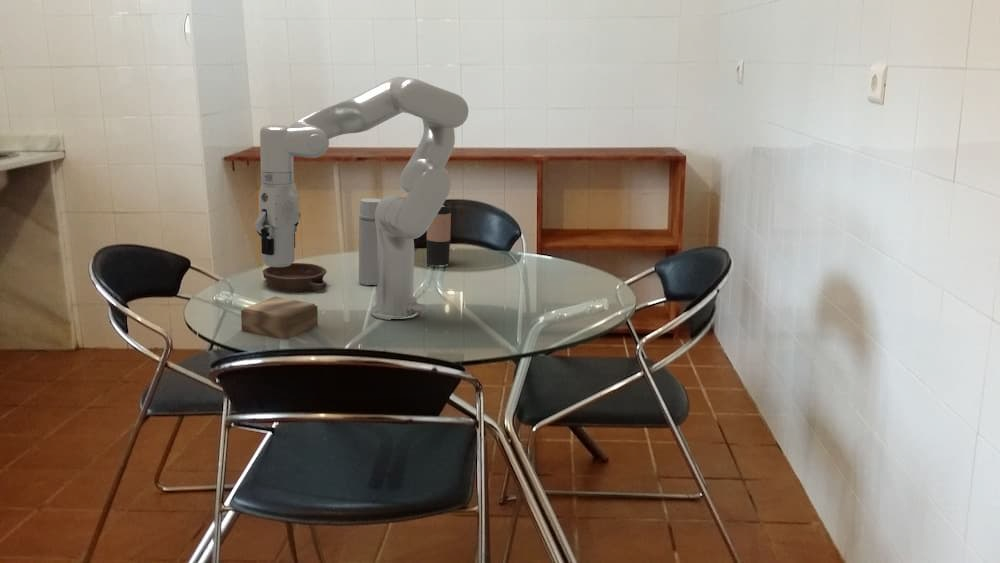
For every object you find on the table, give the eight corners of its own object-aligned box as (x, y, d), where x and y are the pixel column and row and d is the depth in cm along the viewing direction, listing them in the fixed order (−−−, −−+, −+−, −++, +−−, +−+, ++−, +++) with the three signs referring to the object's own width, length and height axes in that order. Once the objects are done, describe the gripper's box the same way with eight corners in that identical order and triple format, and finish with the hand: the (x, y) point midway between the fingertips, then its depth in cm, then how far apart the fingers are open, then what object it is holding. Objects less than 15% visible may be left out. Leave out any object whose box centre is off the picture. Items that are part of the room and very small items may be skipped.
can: (256, 264, 209) (254, 215, 205) (277, 259, 215) (276, 211, 212) (279, 269, 205) (279, 220, 202) (300, 263, 212) (300, 215, 209)
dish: (285, 274, 264) (284, 258, 262) (344, 286, 254) (344, 269, 253) (244, 286, 248) (244, 269, 247) (306, 299, 239) (305, 282, 238)
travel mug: (423, 262, 285) (425, 202, 280) (446, 261, 287) (448, 202, 282) (428, 268, 278) (430, 206, 273) (451, 267, 280) (454, 206, 275)
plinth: (317, 324, 218) (317, 303, 216) (285, 339, 206) (285, 317, 205) (275, 316, 223) (274, 295, 221) (241, 330, 211) (241, 308, 210)
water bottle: (371, 288, 252) (372, 203, 246) (352, 283, 257) (352, 199, 250) (393, 282, 259) (394, 200, 253) (374, 277, 264) (375, 196, 257)
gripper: (266, 184, 196) (268, 260, 200) (312, 176, 211) (313, 246, 216) (240, 181, 198) (242, 256, 203) (287, 172, 214) (288, 242, 218)
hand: (278, 250), depth 209 cm, fingers closed on can, 7 cm apart
